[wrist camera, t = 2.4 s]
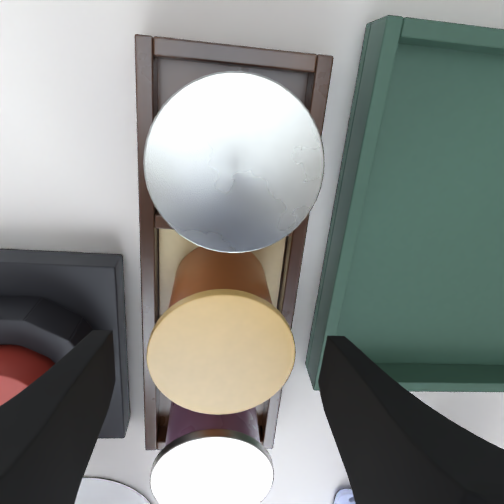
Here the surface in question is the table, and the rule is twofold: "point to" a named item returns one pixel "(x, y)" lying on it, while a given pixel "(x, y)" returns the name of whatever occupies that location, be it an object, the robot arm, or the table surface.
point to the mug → (107, 493)
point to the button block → (67, 311)
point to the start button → (19, 369)
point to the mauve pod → (212, 460)
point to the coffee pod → (220, 336)
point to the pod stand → (168, 240)
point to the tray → (421, 210)
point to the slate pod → (233, 162)
